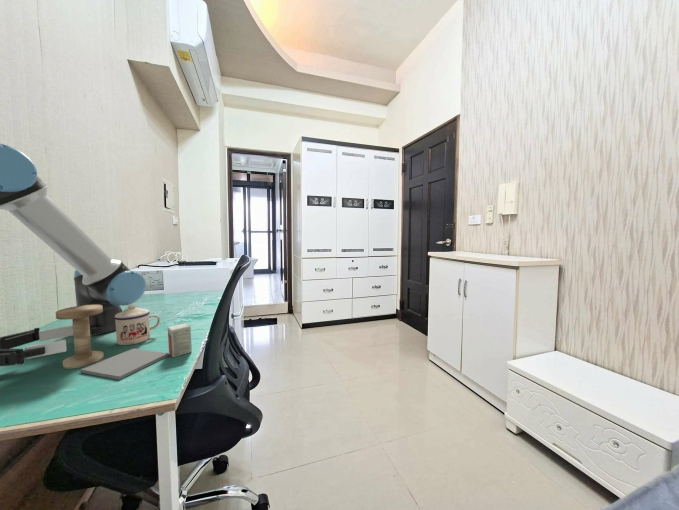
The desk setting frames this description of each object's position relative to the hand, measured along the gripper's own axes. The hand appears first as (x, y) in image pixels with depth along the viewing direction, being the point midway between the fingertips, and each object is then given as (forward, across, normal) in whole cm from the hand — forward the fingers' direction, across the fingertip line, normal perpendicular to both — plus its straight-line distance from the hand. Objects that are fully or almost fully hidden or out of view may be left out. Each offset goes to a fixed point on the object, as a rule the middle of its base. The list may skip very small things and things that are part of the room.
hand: (70, 337), depth 70 cm
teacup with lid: (+15, -10, -8) cm, 20 cm away
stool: (+2, 0, -7) cm, 8 cm away
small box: (+23, +10, -8) cm, 27 cm away
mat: (+11, +9, -7) cm, 16 cm away
